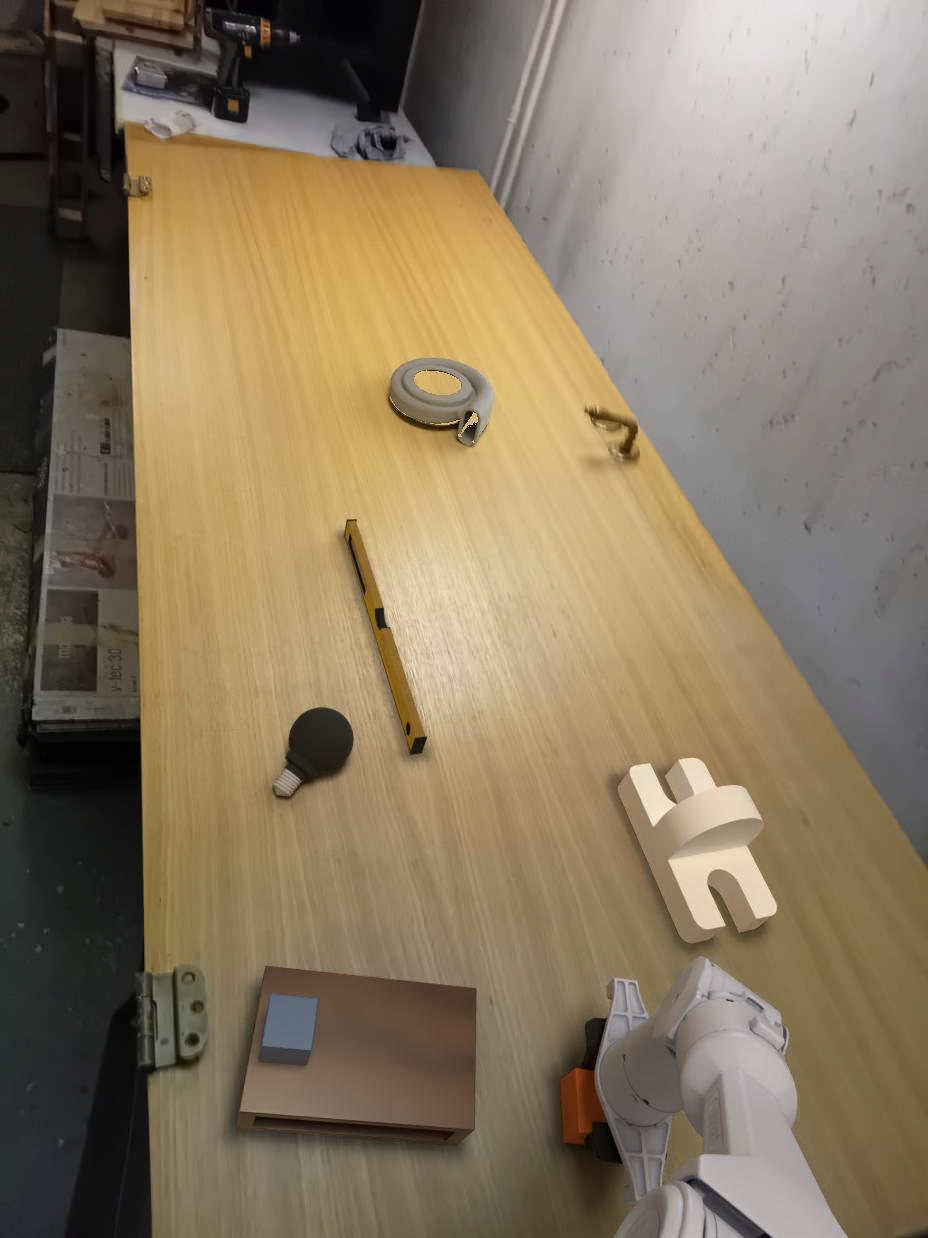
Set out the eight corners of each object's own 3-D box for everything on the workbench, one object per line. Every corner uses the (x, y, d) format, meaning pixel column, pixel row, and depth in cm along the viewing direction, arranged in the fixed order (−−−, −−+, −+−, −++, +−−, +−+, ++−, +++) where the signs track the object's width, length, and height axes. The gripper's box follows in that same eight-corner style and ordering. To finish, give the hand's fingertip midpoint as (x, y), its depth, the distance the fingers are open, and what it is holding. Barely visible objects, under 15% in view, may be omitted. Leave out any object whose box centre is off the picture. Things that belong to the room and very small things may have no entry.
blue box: (306, 1066, 60) (311, 1051, 57) (258, 1061, 59) (261, 1046, 56) (313, 1015, 62) (319, 998, 59) (267, 1010, 62) (270, 993, 59)
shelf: (456, 1146, 64) (474, 1130, 60) (236, 1129, 61) (238, 1112, 57) (460, 1010, 71) (476, 987, 66) (261, 990, 68) (265, 965, 64)
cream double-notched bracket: (687, 773, 94) (731, 720, 86) (763, 927, 83) (821, 882, 75) (614, 783, 90) (652, 729, 83) (683, 945, 79) (735, 900, 72)
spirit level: (421, 753, 87) (427, 737, 85) (410, 754, 87) (415, 739, 84) (353, 535, 107) (356, 518, 105) (343, 536, 106) (346, 519, 104)
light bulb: (249, 771, 76) (317, 688, 80) (252, 778, 82) (315, 701, 86) (304, 813, 76) (369, 728, 80) (302, 817, 82) (363, 738, 86)
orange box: (615, 1146, 67) (634, 1137, 64) (562, 1142, 66) (579, 1132, 63) (610, 1084, 70) (627, 1072, 67) (559, 1080, 69) (575, 1068, 66)
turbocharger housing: (412, 375, 137) (372, 415, 127) (416, 339, 133) (375, 378, 123) (504, 409, 135) (472, 453, 125) (513, 373, 130) (479, 416, 120)
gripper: (735, 1196, 52) (651, 1222, 62) (697, 965, 62) (630, 1018, 72) (631, 1189, 51) (563, 1216, 61) (609, 954, 61) (553, 1011, 71)
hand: (593, 1109), depth 67 cm, fingers closed on orange box, 4 cm apart
